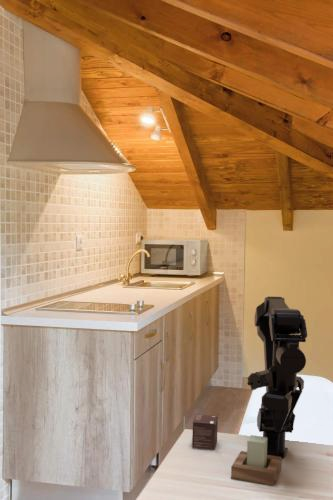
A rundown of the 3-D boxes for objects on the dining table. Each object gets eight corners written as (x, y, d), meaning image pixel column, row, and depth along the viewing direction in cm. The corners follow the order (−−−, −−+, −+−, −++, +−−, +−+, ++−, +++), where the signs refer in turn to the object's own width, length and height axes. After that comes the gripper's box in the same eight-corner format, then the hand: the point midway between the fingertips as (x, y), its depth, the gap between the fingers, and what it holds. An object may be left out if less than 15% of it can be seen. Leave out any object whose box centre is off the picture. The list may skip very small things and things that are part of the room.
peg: (249, 467, 151) (250, 435, 151) (266, 469, 150) (267, 437, 149) (246, 473, 147) (247, 440, 147) (263, 476, 146) (264, 443, 145)
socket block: (240, 462, 155) (241, 450, 155) (280, 469, 152) (281, 457, 151) (231, 478, 146) (231, 466, 145) (273, 486, 142) (274, 473, 142)
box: (195, 440, 169) (196, 413, 169) (217, 442, 168) (218, 415, 168) (191, 448, 164) (192, 421, 163) (214, 450, 162) (215, 423, 162)
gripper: (261, 349, 160) (259, 409, 161) (240, 367, 143) (238, 433, 144) (305, 355, 155) (303, 416, 156) (289, 373, 138) (286, 441, 139)
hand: (282, 426), depth 149 cm, fingers open, 9 cm apart
